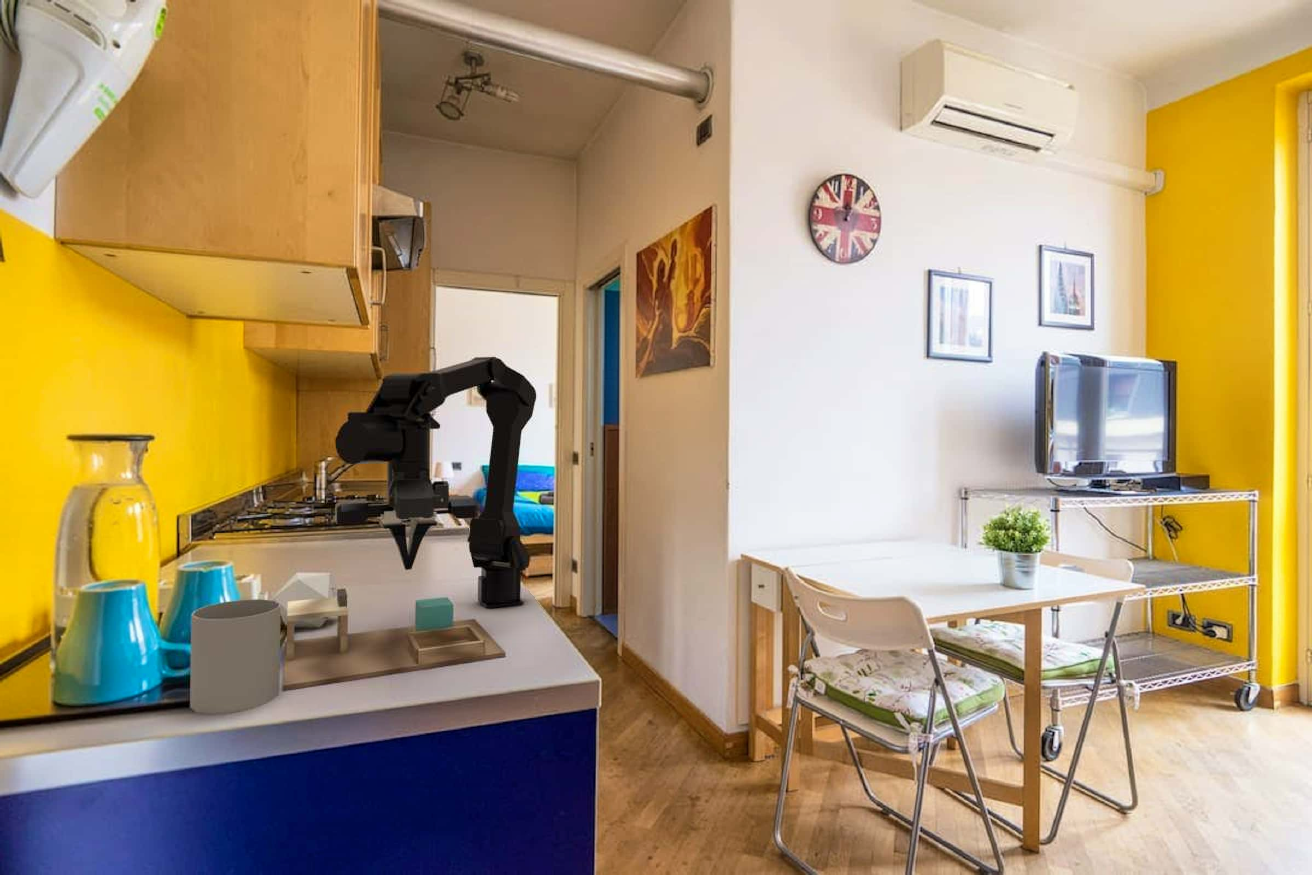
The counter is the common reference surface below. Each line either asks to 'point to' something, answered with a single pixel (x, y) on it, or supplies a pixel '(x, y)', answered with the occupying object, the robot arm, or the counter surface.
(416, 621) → the block
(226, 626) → the cup
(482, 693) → the counter surface
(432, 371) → the robot arm
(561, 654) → the counter surface
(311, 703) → the counter surface
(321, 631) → the counter surface
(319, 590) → the die
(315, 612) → the bridge
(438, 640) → the board
